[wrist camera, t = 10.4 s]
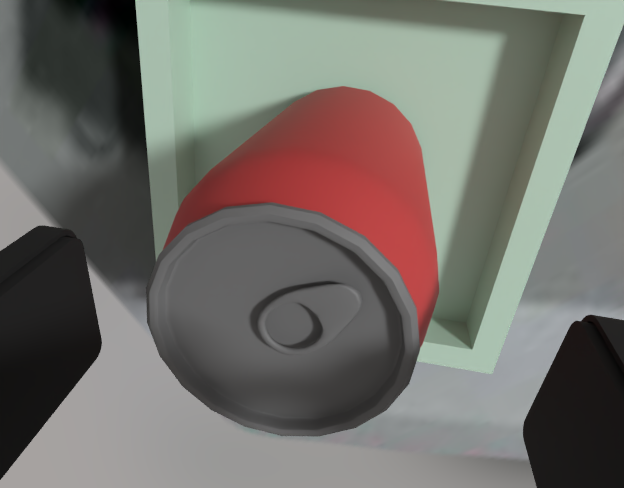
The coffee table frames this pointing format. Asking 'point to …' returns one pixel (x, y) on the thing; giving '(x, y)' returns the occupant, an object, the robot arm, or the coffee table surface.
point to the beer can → (302, 270)
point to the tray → (410, 102)
